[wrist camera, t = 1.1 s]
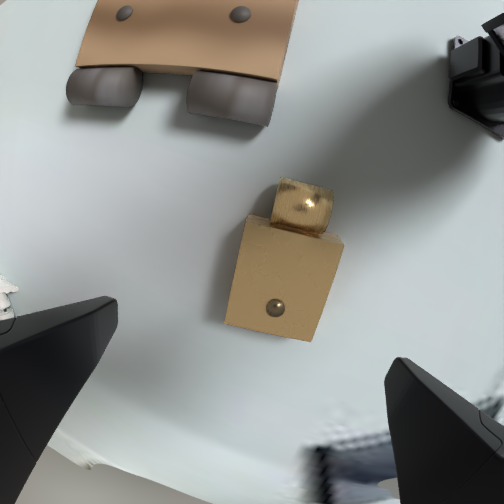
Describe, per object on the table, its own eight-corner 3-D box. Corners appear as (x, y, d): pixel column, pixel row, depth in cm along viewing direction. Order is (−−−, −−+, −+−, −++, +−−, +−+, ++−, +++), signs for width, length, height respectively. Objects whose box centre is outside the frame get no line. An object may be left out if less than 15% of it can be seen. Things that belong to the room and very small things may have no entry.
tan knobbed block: (308, 324, 22) (311, 345, 19) (229, 306, 22) (223, 326, 19) (348, 193, 19) (359, 199, 16) (258, 170, 19) (255, 172, 16)
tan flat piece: (122, -13, 15) (106, -27, 12) (300, -7, 15) (302, -27, 12) (84, 106, 18) (62, 102, 16) (268, 128, 18) (266, 123, 15)
